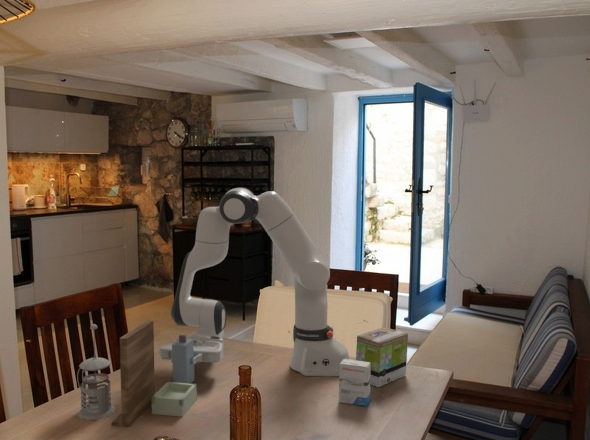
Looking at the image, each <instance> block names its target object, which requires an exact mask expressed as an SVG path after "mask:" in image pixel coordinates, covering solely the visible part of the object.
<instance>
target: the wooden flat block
mask: <svg viewBox="0 0 590 440" xmlns="http://www.w3.org/2000/svg"><path fill="white" fill-rule="evenodd" d="M154 325H155V324H154V321H153V320H146V321H144V322H143V323H141V324H139V325H138V326H136V327H135V328H133V329H132V330H131V331H128V332H127V333H126V334H124V335H122V336H121V337H119V361H120V362H119V364H120V396H121V397H120V399H121V400H120V403H121V404H120V405H121V407H120V408H121V412H120V413H119V414H118V415H117V416H116V417H115V418H114V419H113V420H112V421H111V426H113V427H121V428H122V427H123V428H130V427H131V426H132V425H133V424H134V423H135V422H136V421H137V420H138V419H139V418H140V417H141V416H142V415H143V414H144V413H145V412H146V411H147V410H148V409H149V408H150V407H152V396H153V395H154V394H155V393H156V390H155V387H156V386H155V383H156V381H155V377H156V376H155V338H154V337H155V333H154V332H155V328H154Z"/></svg>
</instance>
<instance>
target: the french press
mask: <svg viewBox="0 0 590 440" xmlns="http://www.w3.org/2000/svg"><path fill="white" fill-rule="evenodd" d="M89 329H90V330H93V331H95V330H96V329H98V325H97V324H95V323H92V324H91V325H90V327H89ZM95 339H96V337H95V333H93V354H94V355H93V357H90V358H88V359H85V360H84V361H82V362H81V363H80V364H79V365H78V367H79V369H78V371H77V373H76V376H77V378H76V379H77V380H76V381H77V385H78V387H79V389H80V400H81V401H80V405H81V406H80V407H81V409H80V410H79V411H78V412H77V417H78V418H80V419H81V420H88V421H91V420H93V421H95V420H101V419H103V418H107V417H109V416H110V415H112V414H114V412H115V407H114V406H113V405H112V401H111V399H112V398H111V394H112V393H111V380H110V376H109V375H108V374H106V373H97V371H100V370H105V369H107V368H108V367H109V366H110V365H111V361H110V360H108V359H106V358H104V357H96V344H95V343H96V340H95ZM80 370H82V371H81V373H82V374H81V382H82V383H80V382H79V374H80V373H79V372H80ZM84 372H94V373H92V374H87V375H85V376H84ZM105 383H106V384H105ZM87 396H88V397H87Z"/></svg>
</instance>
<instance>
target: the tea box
mask: <svg viewBox="0 0 590 440" xmlns="http://www.w3.org/2000/svg"><path fill="white" fill-rule="evenodd" d="M408 340H409V334H408V333H407V332H404V331H400V330H396V329H392V328H390V327H386V326H383V327H380V328H377V329H374V330H372V331H369V332H365V333H361V334H358V335H357V336H356V349H355V350H356V351H355V353H356V355H355V360H356V361H364V362H371V376H370V384H371V385H370V386H372V385H373V387H375V386H376V387H375V388H378V387H379V388H381V387H383V386H384V385H386V384H389V382H390V383H391V381H392V382H393V381H397V380H399V379H401V378H403V376H404V377H406V376H405V375H407V362H408V359H407V358H408ZM398 378H399V379H398ZM396 379H397V380H396Z"/></svg>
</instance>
